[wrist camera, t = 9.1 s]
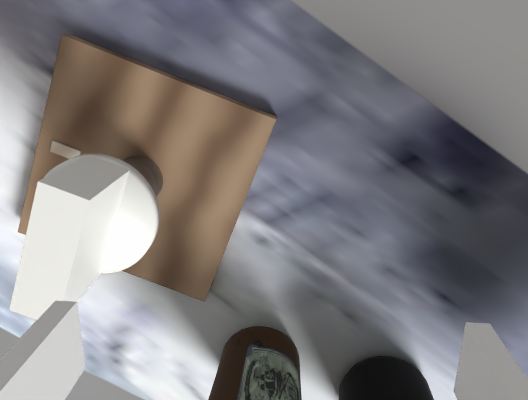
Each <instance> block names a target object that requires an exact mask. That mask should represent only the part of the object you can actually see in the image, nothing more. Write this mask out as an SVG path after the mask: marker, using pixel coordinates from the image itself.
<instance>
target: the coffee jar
mask: <svg viewBox="0 0 528 400" xmlns="http://www.w3.org/2000/svg"><path fill="white" fill-rule="evenodd" d="M339 400H434V399H433V396H432V394H431V391H430V388H429V386H428V383H427V381H426V379H425V378H424V377H423V375H422V374H421V372H420V371H419V370H418V369H416V368H415V367H413V366H412V365H411V364H409V363H408V362H406V361H403V360H400V359H397V358H394V357H387V356H377V357H373V358H368V359H366V360H364V361H362V362H360V363H358V364H356V365H355V366H354V367H353V368H352V369H351V370H350V371H349V372H348V373H347V374H346V375H345V377H344V379H343V381H342V383H341V385H340V390H339Z"/></svg>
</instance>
